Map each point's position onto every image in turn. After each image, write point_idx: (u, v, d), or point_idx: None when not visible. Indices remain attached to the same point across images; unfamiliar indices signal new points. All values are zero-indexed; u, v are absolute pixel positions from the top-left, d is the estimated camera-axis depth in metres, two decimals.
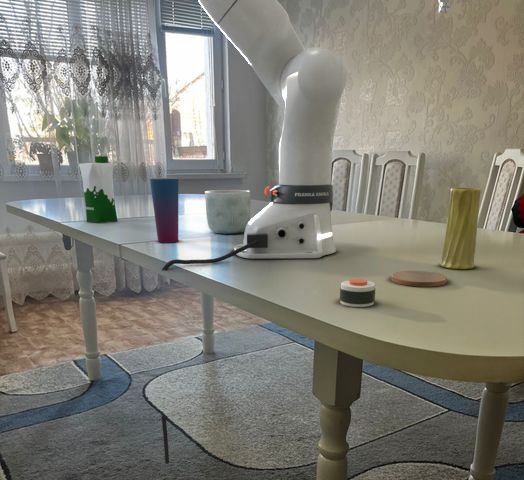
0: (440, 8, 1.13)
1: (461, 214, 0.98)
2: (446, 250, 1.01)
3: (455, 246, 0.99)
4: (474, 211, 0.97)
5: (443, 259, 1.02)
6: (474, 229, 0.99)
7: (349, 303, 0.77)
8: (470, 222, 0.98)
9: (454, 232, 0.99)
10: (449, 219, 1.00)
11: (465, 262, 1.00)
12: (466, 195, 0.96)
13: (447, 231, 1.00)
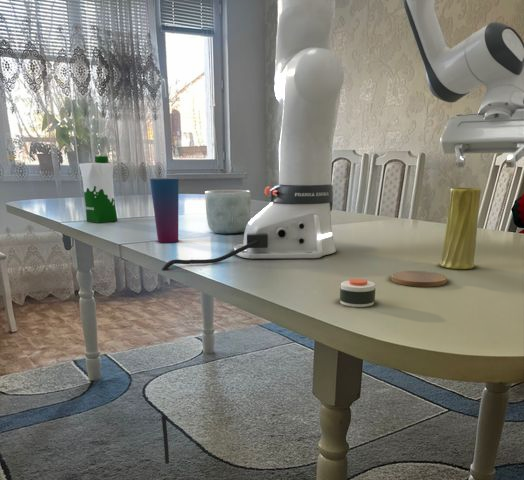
0: (460, 159, 1.08)
1: (461, 214, 0.98)
2: (446, 250, 1.01)
3: (455, 246, 0.99)
4: (474, 211, 0.97)
5: (443, 259, 1.02)
6: (474, 229, 0.99)
7: (349, 303, 0.77)
8: (470, 222, 0.98)
9: (454, 233, 0.99)
10: (449, 219, 1.00)
11: (465, 262, 1.00)
12: (466, 195, 0.96)
13: (447, 231, 1.00)
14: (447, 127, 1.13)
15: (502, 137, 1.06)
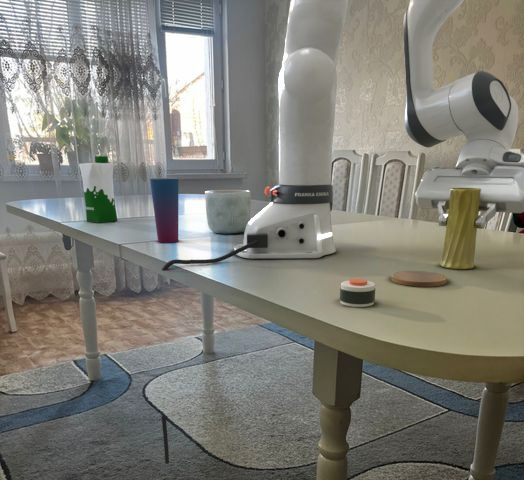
0: (443, 218, 1.01)
1: (461, 214, 0.98)
2: (446, 250, 1.01)
3: (455, 246, 0.99)
4: (474, 211, 0.97)
5: (443, 259, 1.02)
6: (474, 229, 0.99)
7: (349, 303, 0.77)
8: (470, 221, 0.98)
9: (454, 232, 0.99)
10: (449, 219, 1.00)
11: (464, 262, 1.00)
12: (466, 195, 0.96)
13: (447, 231, 1.00)
14: (423, 181, 1.06)
15: (480, 196, 0.99)
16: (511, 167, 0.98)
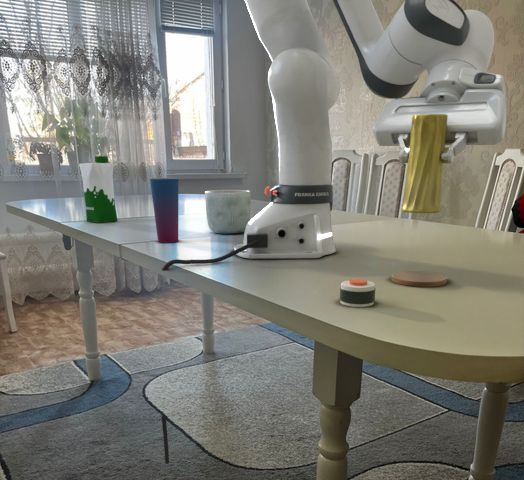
0: (404, 152, 0.85)
1: (424, 146, 0.82)
2: (408, 191, 0.85)
3: (418, 185, 0.83)
4: (439, 141, 0.81)
5: (404, 202, 0.86)
6: (440, 164, 0.83)
7: (349, 303, 0.77)
8: (435, 154, 0.82)
9: (416, 168, 0.83)
10: (410, 153, 0.84)
11: (429, 204, 0.84)
12: (430, 121, 0.80)
13: (408, 168, 0.85)
14: (382, 113, 0.90)
15: (447, 124, 0.83)
16: (483, 89, 0.82)
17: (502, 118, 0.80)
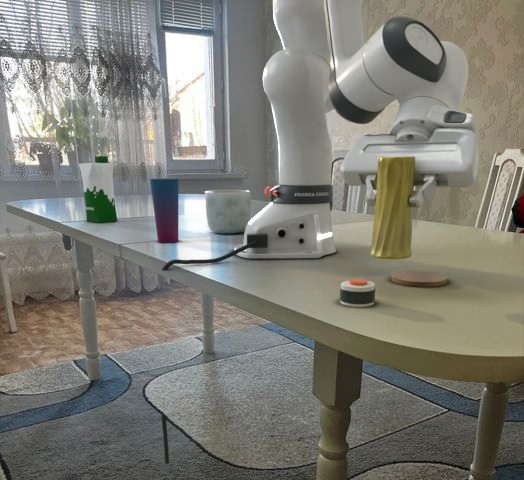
0: (371, 195, 0.81)
1: (391, 189, 0.77)
2: (375, 235, 0.81)
3: (385, 230, 0.79)
4: (407, 185, 0.77)
5: (373, 247, 0.82)
6: (408, 208, 0.78)
7: (349, 303, 0.77)
8: (402, 198, 0.77)
9: (383, 213, 0.79)
10: (377, 196, 0.79)
11: (398, 250, 0.80)
12: (396, 164, 0.76)
13: (376, 211, 0.80)
14: (350, 151, 0.86)
15: (416, 166, 0.79)
16: (453, 129, 0.78)
17: (472, 160, 0.75)
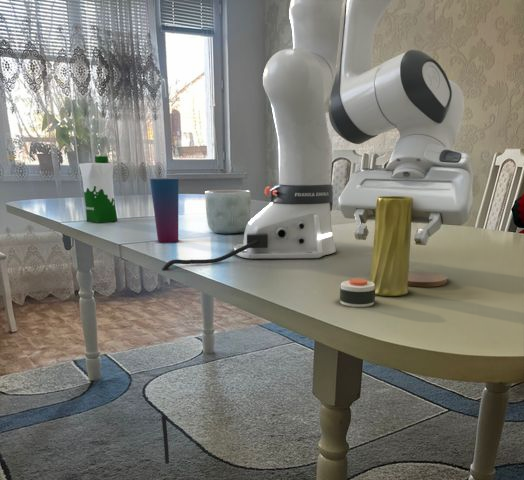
0: (360, 230, 0.83)
1: (389, 229, 0.79)
2: (373, 272, 0.83)
3: (383, 268, 0.81)
4: (404, 225, 0.79)
5: None
6: (405, 247, 0.80)
7: (349, 303, 0.77)
8: (400, 238, 0.79)
9: (381, 251, 0.80)
10: (375, 235, 0.81)
11: (395, 288, 0.81)
12: (394, 205, 0.78)
13: (374, 249, 0.82)
14: (348, 185, 0.87)
15: None
16: (449, 168, 0.80)
17: (467, 201, 0.77)
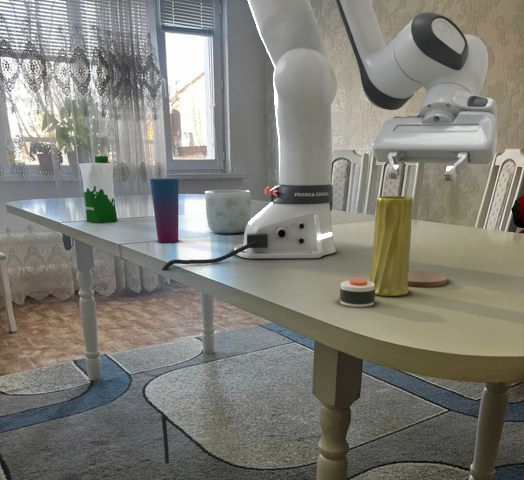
0: (393, 169, 0.91)
1: (389, 229, 0.79)
2: (373, 272, 0.83)
3: (383, 268, 0.81)
4: (404, 225, 0.79)
5: None
6: (405, 247, 0.80)
7: (349, 303, 0.77)
8: (400, 238, 0.79)
9: (381, 251, 0.80)
10: (376, 235, 0.81)
11: (395, 288, 0.81)
12: (394, 205, 0.78)
13: (374, 249, 0.82)
14: (381, 131, 0.95)
15: (442, 144, 0.89)
16: (476, 112, 0.88)
17: (492, 140, 0.85)
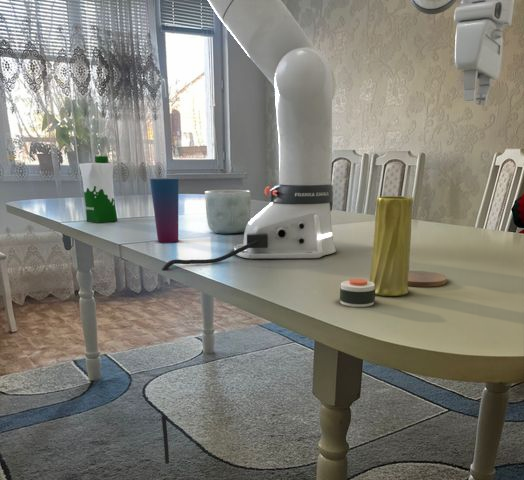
0: None
1: (389, 229, 0.79)
2: (373, 272, 0.83)
3: (383, 268, 0.81)
4: (404, 225, 0.79)
5: None
6: (405, 247, 0.80)
7: (349, 303, 0.77)
8: (400, 238, 0.79)
9: (381, 251, 0.80)
10: (376, 235, 0.81)
11: (395, 288, 0.81)
12: (394, 205, 0.78)
13: (374, 249, 0.82)
14: None
15: None
16: None
17: (455, 56, 0.91)
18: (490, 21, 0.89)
